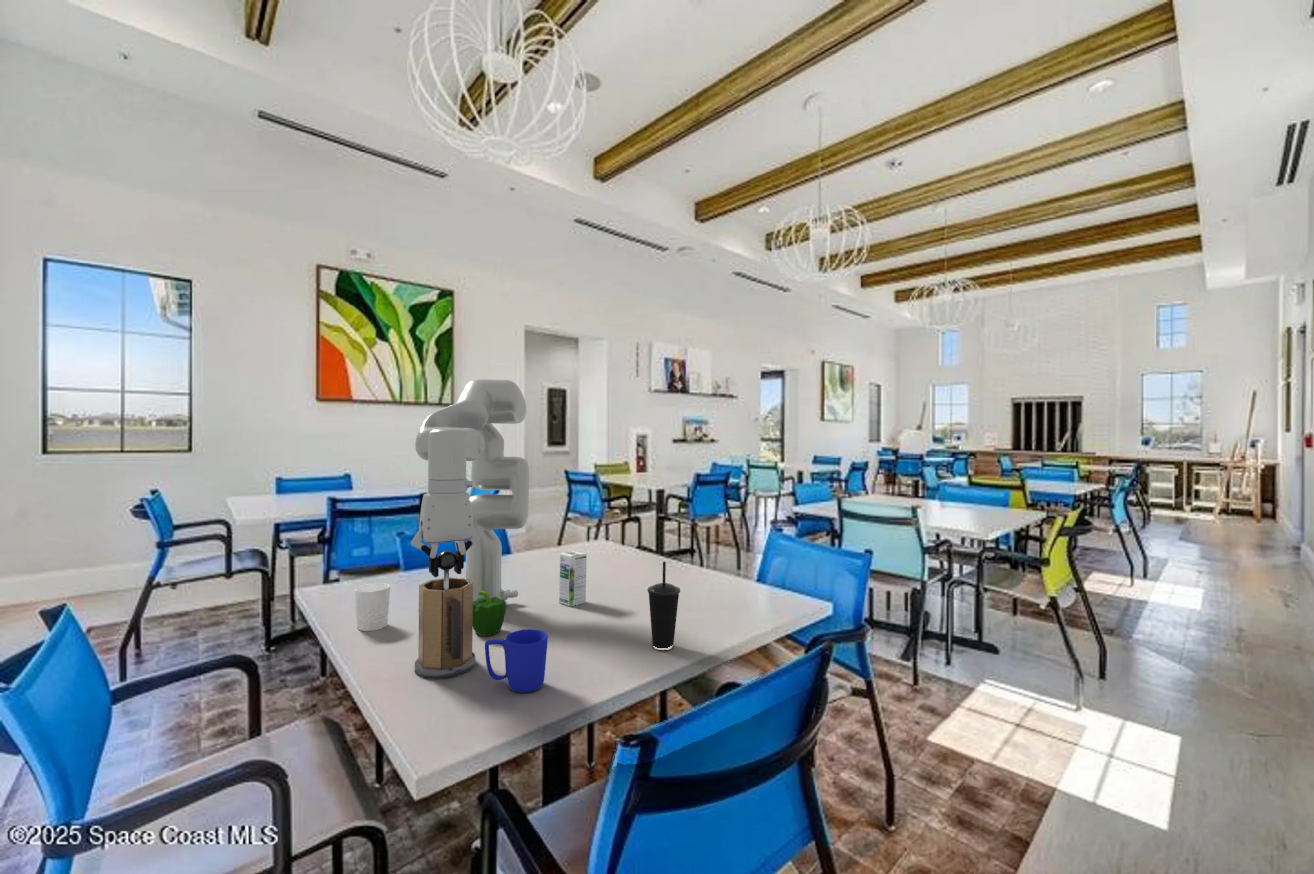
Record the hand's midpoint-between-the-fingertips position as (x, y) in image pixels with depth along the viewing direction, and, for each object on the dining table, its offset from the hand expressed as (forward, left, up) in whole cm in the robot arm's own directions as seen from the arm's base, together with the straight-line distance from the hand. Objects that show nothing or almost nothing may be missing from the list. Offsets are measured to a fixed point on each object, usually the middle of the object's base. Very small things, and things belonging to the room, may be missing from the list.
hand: (446, 573), depth 120 cm
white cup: (+9, -34, -20) cm, 40 cm away
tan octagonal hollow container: (0, +1, -20) cm, 20 cm away
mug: (-9, +17, -20) cm, 28 cm away
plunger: (0, 0, -14) cm, 14 cm away
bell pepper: (-14, -15, -20) cm, 29 cm away
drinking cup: (-45, +16, -20) cm, 52 cm away
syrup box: (-42, -25, -20) cm, 53 cm away
